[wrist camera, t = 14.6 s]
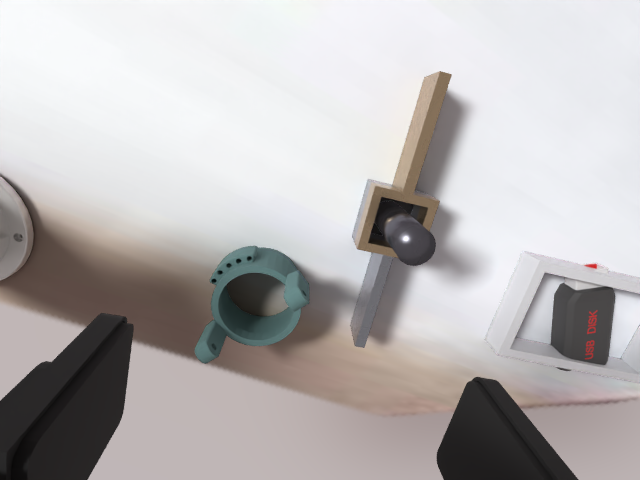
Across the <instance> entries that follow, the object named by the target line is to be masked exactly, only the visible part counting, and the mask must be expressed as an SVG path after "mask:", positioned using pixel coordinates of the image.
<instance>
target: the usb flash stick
mask: <svg viewBox="0 0 640 480" xmlns="http://www.w3.org/2000/svg"><path fill="white" fill-rule="evenodd" d="M582 265H584V266H587V267H591V268H595V269H596V270H593V271H597V272H601V273H606V274H608V268H607V267H605V266H603V265H601V264H598V263H589V264H582ZM614 303H615V293H614V290H613V288H612V287H608V286H603V285H599V284H594V283H590V282H585V281H581V280H577V279H572V278H568V277H565V283H562V284H560V286H559V287H558V289H557V291H556V293H555V295H554V305H553V319H552V333H551V345H552V346H553V347H554V348H555V349H556V350H557V351H558V352H559V353H561V354H562V355H563V356H565V357H567V358H570V359H573V360H578V361H583V362H588V363H594V364H599V365H606V363H607V361H608V356H609V348H610V339H611V330H612V321H613V312H614ZM557 368H558V369H560V370H565V371H571V370H570V369H564V368H559V367H557Z"/></svg>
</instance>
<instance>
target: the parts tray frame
mask: <svg viewBox="0 0 640 480" xmlns="http://www.w3.org/2000/svg"><path fill="white" fill-rule="evenodd" d="M593 270H596V269H595V268H591V267H587V266H584V265H582V264H578V263H573V262H569V261H565V260H560V259H556V258H551V257H547V256H543V255H538V254H534V253H530V252H525V251H522V253H521V255H520V258H519V260H518V262H517V265H516V267H515V269H514V272H513V274H512V276H511V279H510V281H509V283H508V286H507V288H506V290H505V293H504V295H503V297H502V300H501V302H500V304H499V307H498V309H497V311H496V314H495V316H494V318H493V321H492V323H491V325H490V328H489V330H488V332H487V335H486V337H485V339H484V340H485V341H486V342H487V343H488V344H489V346H490V347H491V348H492V349H493V351H494V352H495V353H496V354H497V355H498V356H503V357H508V358H513V359H519V360H524V361H529V362H534V363H539V364H544V365H549V366H554V367H559V368H564V369H570V370H575V371H580V372H585V373H590V374H595V375H600V376H605V377H610V378H615V379H621V380H626V381H631V382H636V383H640V325H639V327H638V329H637V331H636V332H635V334H634V336H633V338H632V340H631V341H630V343H629V345H628V347H627V348H626V350H625V352H624V354H623V355H622V357H621V359H619V358H614V357H609V356H608V361H607V363H606V365H599V364H594V363H588V362H583V361H578V360H573V359H570V358H567V357H565V356H563V355H562V354H561V353H559V352H558V351H557V350H556V349H555V348H554V347H553V346H552V345H550V344H545V343H540V342H535V341H530V340H525V339H520V338H515V337H516V334H517V332H518V330H519V328H520V326H521V323H522V321H523V319H524V317H525V315H526V312H527V310H528V308H529V306H530V304H531V302H532V299H533V297H534V295H535V293H536V291H537V288H538V286H539V284H540V282H541V280H542V277H543V275H544V273H550V274H554V275H559V276H563V277H568V278H572V279H577V280H581V281H585V282H590V283H594V284H599V285H603V286H608V287H612V288H617V289H621V290H625V291H630V292H634V293H639V294H640V278H638V277H634V276H630V275H625V274H621V273H617V272H612V271H608V274H606V273H601V272H597V271H593Z"/></svg>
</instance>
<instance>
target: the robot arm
mask: <svg viewBox="0 0 640 480" xmlns="http://www.w3.org/2000/svg"><path fill="white" fill-rule="evenodd" d="M33 236H34V233H33V226H32V221H31V218H30V215H29V212H28V210H27V208H26V206H25V204H24V203H23V201H22V199H21V198H20V196H19V195H18V194H17V192H16V191H15V190H14V189H13V187H12V186H10V185H9V184H8V183H7V182H6V181H5V180H4V179H3V178H2V177H1V176H0V281H1V280H3V279H5V278H7V277H9V276H11V275H12V274H14V273H15V272H17V271H18V270H19V269H20V268H21V267H22V266H23V265H24V264H25V262H26V261H27V259H28V257H29V256H30V253H31V250H32V246H33ZM132 337H133V324H129V323H127V318H126V317H123V316H117V315H111V314H105V313H101V314H100V315H98V316H97V317H96V318H95V319H94V320H93V321H92V322H91V323H90V324H89V325H88V326H87V327H86V328H85V329H84V330H83V331H82V332H81V333H80V334H79V336H77V337H76V338H75V339H74V340H73V341H72V342H71V343H70V344H69V345H68V346H67V347H66V348H65V349H64V350H63V352H61V353H60V354H59V355H58V356H57V357H56V358H55V359H54V360H53V361H52V362H47V361H46V362H42V363H40V364H39V365H38V366H36V367H35V368H34V369H33V370H32V371H31V372H30V373H29V374H28V375H27V376H26V377H25V378H24V379H23V380H22V381H21V382H20V383H18V384H17V386H15V388H13V389H12V390H11V391H10V392H9V393H8V394H7V395H6V396H5V397H4V398H3V399H2V400H1V401H0V480H87V479H88V478H89V476H90V474H91V472H92V471H93V469H94V467H95V465H96V464H97V462H98V460H99V458H100V457H101V455H102V453H103V451H104V449H105V448H106V446H107V444H108V442H109V440H110V439H111V437H112V435H113V434H114V432H115V430H116V428H117V427H118V425H119V423H120V420H121V418H122V414H123V410H124V403H125V394H126V387H127V378H128V370H129V362H130V353H131V345H132ZM437 464H438V467H439V469H440V472H441V474H442V476H443V479H444V480H578V479H577V477H576V476H575V475H574V474H573V473H572V471H571V470H570V469H569V468H568V466H567V465H566V464H565V463H564V462H563V460H562V459H561V458H560V457H559V455H558V454H557V453H556V452H555V450H554V449H553V448H552V447H551V446H550V444H549V443H548V442H547V441H546V439H545V438H544V437H543V436H542V435H541V433H540V432H539V431H538V430H537V428H536V427H535V426H534V425H533V424H532V422H531V421H530V420H529V419H528V417H527V416H526V415H525V414H524V413H523V411H522V410H521V409H520V408H519V406H518V405H517V404H516V403H515V401H514V400H513V399H512V398H511V397H510V395H509V394H508V393H507V392H506V390H505V389H504V388H503V387H502V386H501V384H500V383H499V382H498V381H496V380H492V379H486V378H480V377H475V378H474V379H473V380H472V381H469V382H468V383H467V384H466V386H465V389H464V391H463V393H462V396H461V398H460V400H459V403H458V405H457V407H456V410H455V412H454V414H453V417H452V419H451V422H450V424H449V426H448V428H447V431H446V433H445V435H444V438H443V440H442V442H441V445H440V447H439V449H438V452H437Z"/></svg>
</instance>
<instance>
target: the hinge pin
mask: <svg viewBox="0 0 640 480" xmlns="http://www.w3.org/2000/svg"><path fill="white" fill-rule="evenodd" d="M374 223H375V224H376V226H377V227H378V229H379V230H380V231H381V233H382V234H383V236H384V237H385V239H386V240H387V242H388V243H389V245H390V246H391V247H392V249H393V250H394V252H395V253H396V255H397V256H398V258H399V259H400V260H401V261H402V262H403V263H405V264H407V265H412V266H416V265H421V264H423V263H425V262H427V261H428V260H429V259H430V258H431V257H432V255H433V254H434V251H435V247H436V243H435V239H434V237H433V235H432V234H431V233H430V232H429V231H428V230H427V229H426V228H425V227H424V226H422V225H421V224H420V223H419V222H418V221H417V220H416V219H414V218H413V217H412V216H411V215H410V214H409V213H408V212H406V211H405V210H404V209H403V208H402V207H401V206H400V205H398V204H397V203H396V202H394V201H390V200H387V201H383V202H381V203H379V207H378V210H377V213H376V217H375V220H374Z"/></svg>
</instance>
